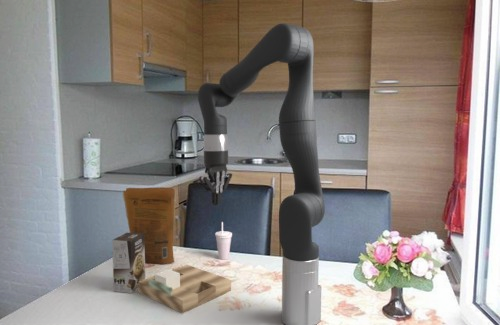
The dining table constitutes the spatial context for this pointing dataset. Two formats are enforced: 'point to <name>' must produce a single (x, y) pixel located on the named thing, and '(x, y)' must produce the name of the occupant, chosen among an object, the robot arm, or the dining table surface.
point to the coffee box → (128, 262)
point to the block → (168, 278)
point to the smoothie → (223, 243)
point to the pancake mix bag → (152, 220)
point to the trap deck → (186, 289)
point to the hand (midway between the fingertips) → (216, 204)
